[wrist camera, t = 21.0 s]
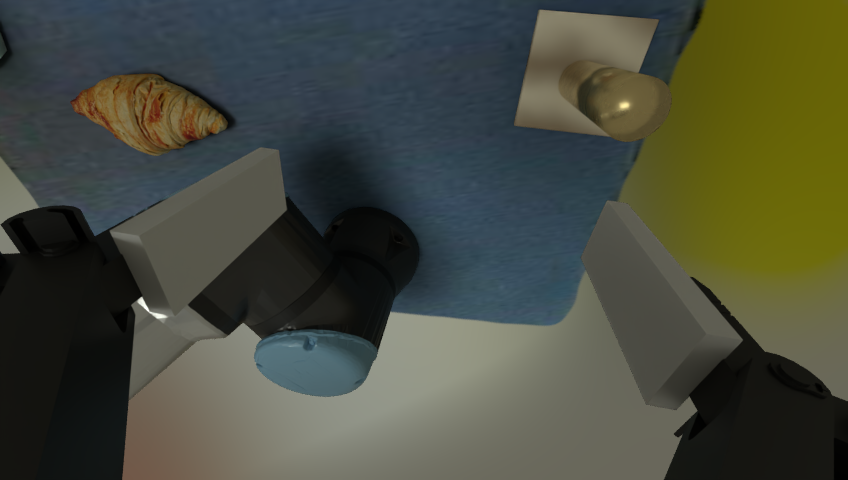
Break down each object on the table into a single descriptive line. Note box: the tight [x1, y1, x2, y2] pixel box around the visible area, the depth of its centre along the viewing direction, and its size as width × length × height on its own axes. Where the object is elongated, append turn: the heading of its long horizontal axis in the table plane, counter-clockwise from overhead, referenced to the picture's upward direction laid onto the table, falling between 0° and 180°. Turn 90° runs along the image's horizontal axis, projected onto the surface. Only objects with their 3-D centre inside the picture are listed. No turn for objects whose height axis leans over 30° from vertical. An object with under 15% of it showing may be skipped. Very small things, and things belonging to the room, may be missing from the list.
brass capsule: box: [558, 60, 672, 142], centre depth 28 cm, size 4×4×16 cm
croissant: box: [70, 74, 228, 156], centre depth 43 cm, size 21×10×8 cm, turn 87°
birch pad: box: [514, 10, 659, 137], centre depth 35 cm, size 11×11×1 cm
